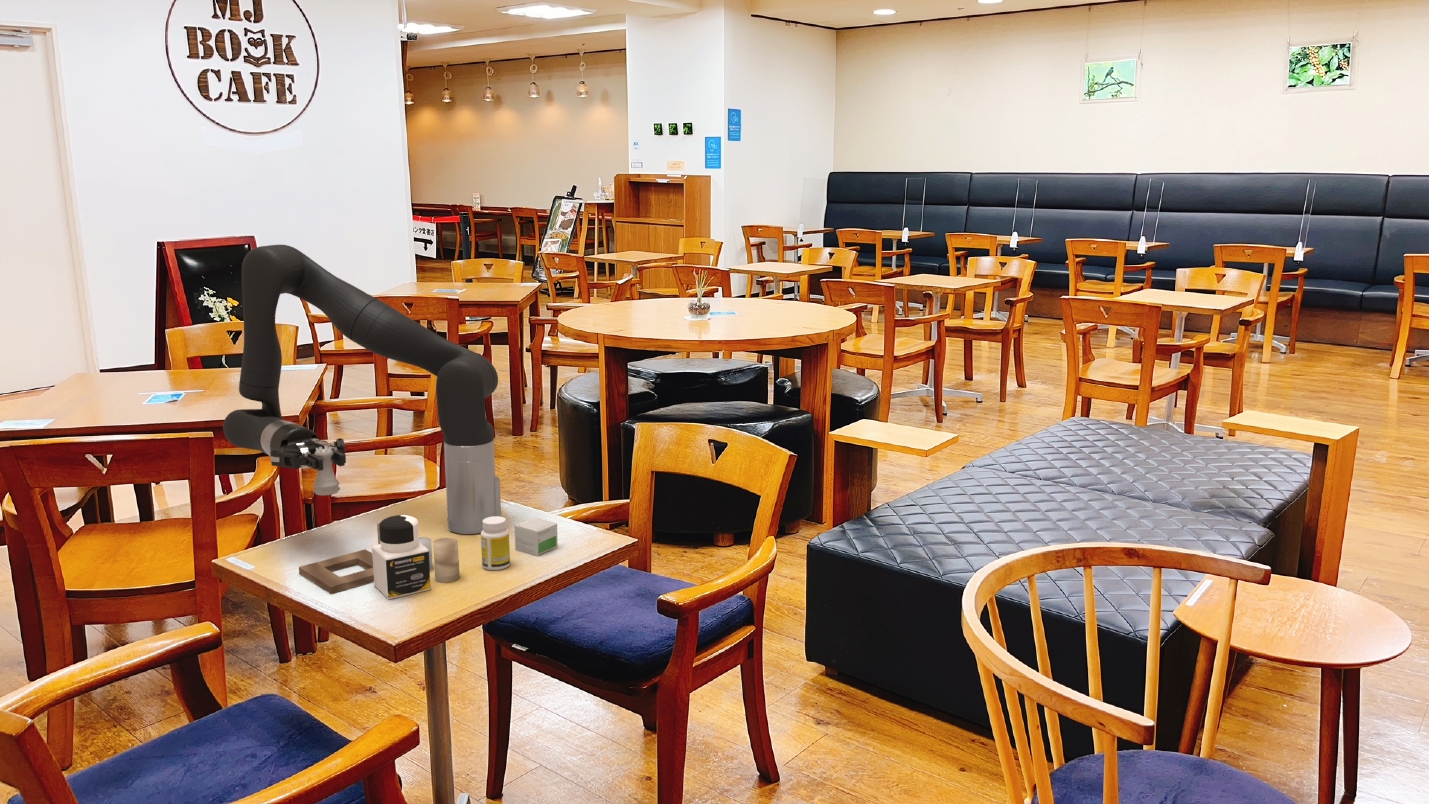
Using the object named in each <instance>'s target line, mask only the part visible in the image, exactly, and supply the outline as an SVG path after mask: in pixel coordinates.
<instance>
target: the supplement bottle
mask: <svg viewBox="0 0 1429 804" xmlns="http://www.w3.org/2000/svg"><path fill="white" fill-rule="evenodd" d="M483 529H484V530H482V532H481V533H480V545H481V563H482V564H481V566H482V568H483V569H484V570H489V571H499V570H503V569H504V570H505V569H506V568H508V567H509V566H510V565H511V556H510V554H511V553H510V550H511V549H510V533H509V532H510V531H509V529H507V519H506V518H505V517H503V516H501V517H500V516H493V517H488V518H485V519H484V520H483Z"/></svg>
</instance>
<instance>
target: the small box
mask: <svg viewBox="0 0 1429 804" xmlns="http://www.w3.org/2000/svg"><path fill="white" fill-rule="evenodd" d="M556 548H558V523H557V522H554V521H551V520H547V519H543V518H541V517H536V516H535V517H532V518H530V519H528V520H525V521H523V522H520V523H517V524H515V525H514V551H517V552H521V553H525V554H528V555H532V556H535V557H538V556H540V555H542V554H544V553H547V552H549V551H551V550H554V549H556Z"/></svg>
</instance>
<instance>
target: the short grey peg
mask: <svg viewBox="0 0 1429 804" xmlns="http://www.w3.org/2000/svg"><path fill="white" fill-rule="evenodd" d="M419 542H420V543H421V544H422V545H423V546H425V547H426V548H427V549H428V550H429V564H430V571H432V569H433V568H434V567H433V564H434V563H433V547H432V545H433V544H432V539H431V538H430V537H427V536H419Z"/></svg>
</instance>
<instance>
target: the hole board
mask: <svg viewBox="0 0 1429 804" xmlns="http://www.w3.org/2000/svg"><path fill="white" fill-rule="evenodd" d="M380 522H381V521H378V522H376V528H377V529H376V530H377V531H376V532H377V542H378V543H377V544H380V531H379V524H380ZM354 566H359V567H361V568H363V569H364V570H360V571H357V572H353V573H349V574H346V575H343V576H339V575H338V574H336V573H335V572H337V571H339V570H342V569H346V568H347V569H348V568H350V567H354ZM298 571H299V572H298V573H299V575H301V576H302V577H304V578H305V579H307V580H309V581H310V582H312V583H314V584H315V585H316V586H318V587H320V588H321V589H323V590H325V591H326V592H327V593H329V594H331V595H332V594H336V593H340V592H343V591H347V590H350V589H354V588H357V587H360V586H361V587H362V586H363V585H368V584H370V583H371V584H372V583H374V572H373V557H372V551H369V550H367V549H361V550H357V551H353V552H350V553H347V554H343V555H338V556H334V557H332V558H328V559H324V560H320V561H315V562H313V563H308V564H305V565H301V566H298Z"/></svg>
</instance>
